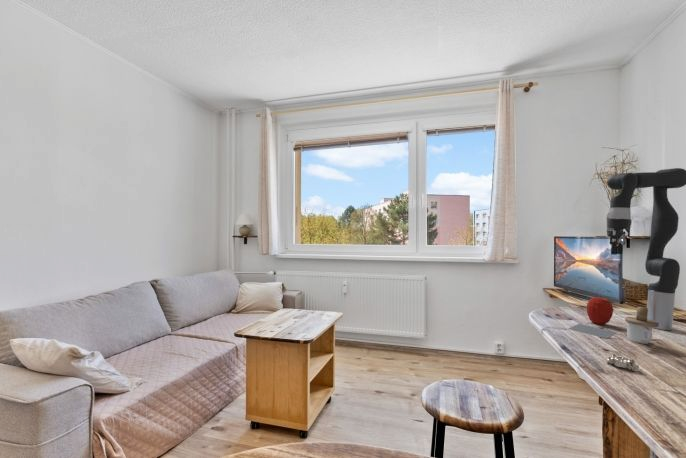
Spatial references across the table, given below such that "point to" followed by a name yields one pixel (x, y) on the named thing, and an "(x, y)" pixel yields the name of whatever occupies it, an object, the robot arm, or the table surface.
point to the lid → (642, 318)
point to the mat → (592, 331)
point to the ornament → (623, 362)
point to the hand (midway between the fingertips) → (616, 254)
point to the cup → (639, 333)
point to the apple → (599, 310)
